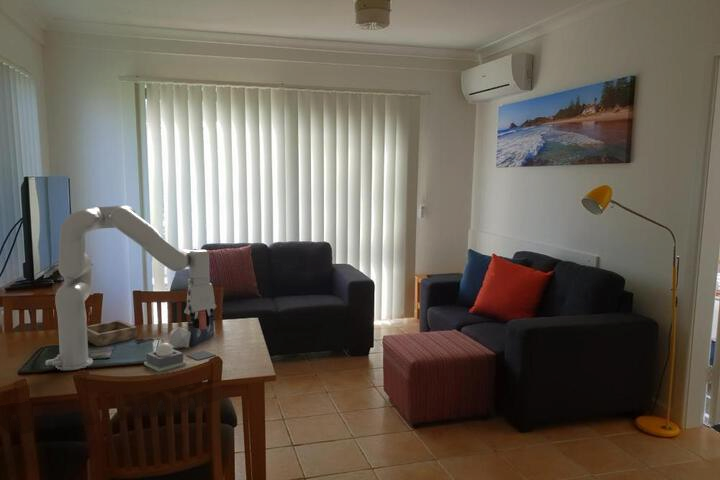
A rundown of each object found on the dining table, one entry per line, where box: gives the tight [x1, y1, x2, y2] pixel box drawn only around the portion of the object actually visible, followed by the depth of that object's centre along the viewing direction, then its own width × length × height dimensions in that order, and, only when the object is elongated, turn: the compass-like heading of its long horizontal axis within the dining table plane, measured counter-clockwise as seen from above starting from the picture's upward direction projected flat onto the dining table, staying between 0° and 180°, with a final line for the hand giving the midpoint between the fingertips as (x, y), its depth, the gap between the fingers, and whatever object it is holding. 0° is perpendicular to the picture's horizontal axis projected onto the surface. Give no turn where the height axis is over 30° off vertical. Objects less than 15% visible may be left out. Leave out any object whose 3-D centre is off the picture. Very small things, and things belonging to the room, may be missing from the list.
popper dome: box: [155, 342, 173, 357], centre depth 208 cm, size 6×6×6 cm
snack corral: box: [87, 319, 138, 347], centre depth 241 cm, size 17×17×5 cm
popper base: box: [143, 348, 187, 373], centre depth 209 cm, size 11×11×4 cm
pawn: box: [196, 310, 207, 330], centre depth 218 cm, size 4×4×8 cm
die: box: [168, 326, 191, 349], centre depth 229 cm, size 8×9×10 cm
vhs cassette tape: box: [187, 312, 215, 347], centre depth 240 cm, size 18×3×10 cm, turn 166°
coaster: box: [186, 350, 216, 361], centre depth 219 cm, size 8×8×1 cm
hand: (201, 326), depth 218 cm, fingers closed on pawn, 4 cm apart
